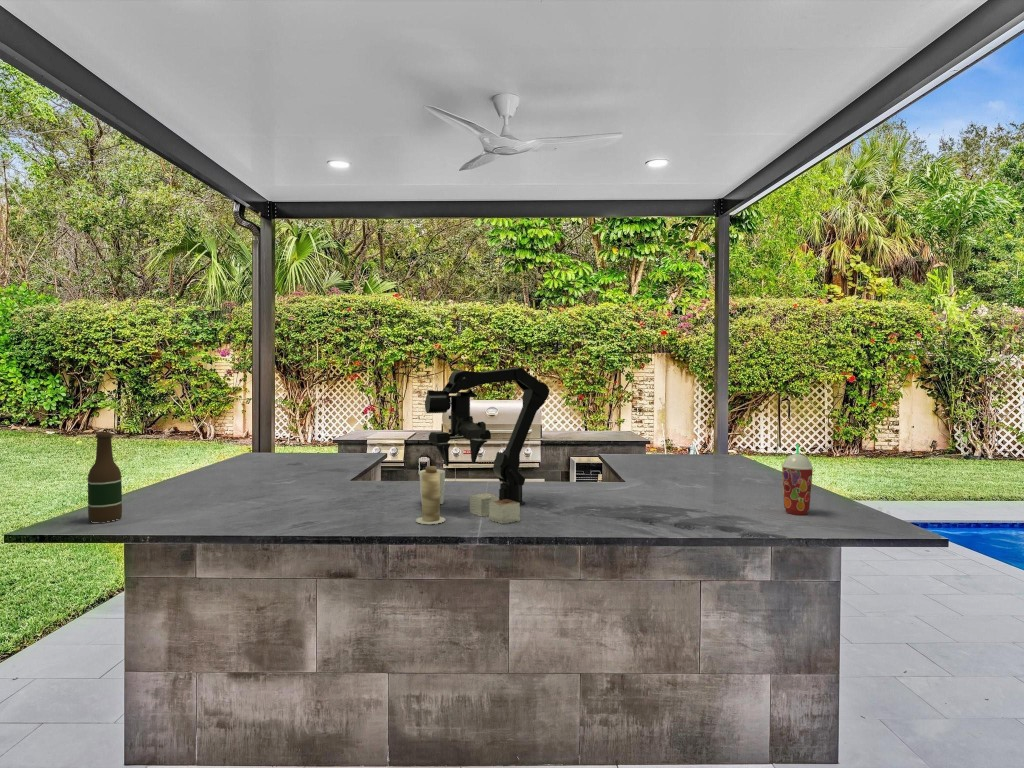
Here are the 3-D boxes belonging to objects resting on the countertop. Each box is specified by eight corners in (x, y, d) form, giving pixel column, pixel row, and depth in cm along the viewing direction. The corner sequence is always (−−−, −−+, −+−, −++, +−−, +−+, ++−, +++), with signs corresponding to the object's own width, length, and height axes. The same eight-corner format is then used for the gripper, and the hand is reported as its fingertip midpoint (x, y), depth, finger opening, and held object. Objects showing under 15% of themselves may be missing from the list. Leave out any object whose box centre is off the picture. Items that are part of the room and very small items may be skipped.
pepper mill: (438, 516, 173) (438, 465, 173) (440, 521, 169) (441, 468, 168) (421, 517, 172) (421, 465, 172) (423, 522, 168) (423, 468, 167)
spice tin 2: (506, 516, 176) (506, 498, 176) (519, 521, 171) (519, 502, 171) (489, 519, 172) (489, 501, 172) (501, 524, 167) (501, 505, 167)
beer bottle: (128, 518, 172) (127, 431, 172) (102, 525, 165) (100, 434, 164) (108, 515, 175) (107, 430, 174) (81, 522, 168) (79, 433, 167)
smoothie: (812, 511, 184) (813, 443, 183) (812, 517, 176) (813, 447, 176) (781, 508, 187) (782, 442, 187) (780, 514, 180) (781, 445, 179)
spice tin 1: (487, 509, 184) (487, 492, 184) (498, 513, 179) (498, 495, 179) (469, 512, 180) (469, 494, 180) (481, 516, 175) (481, 498, 175)
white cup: (440, 507, 188) (440, 474, 187) (415, 505, 189) (415, 473, 189) (448, 501, 195) (448, 469, 195) (424, 500, 197) (424, 468, 197)
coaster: (436, 516, 176) (436, 514, 176) (450, 522, 170) (450, 520, 170) (410, 520, 171) (410, 518, 171) (424, 526, 165) (424, 524, 165)
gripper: (446, 415, 174) (446, 471, 174) (501, 412, 185) (501, 465, 185) (427, 413, 183) (427, 466, 183) (480, 410, 194) (480, 460, 194)
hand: (460, 464), depth 186 cm, fingers open, 9 cm apart
